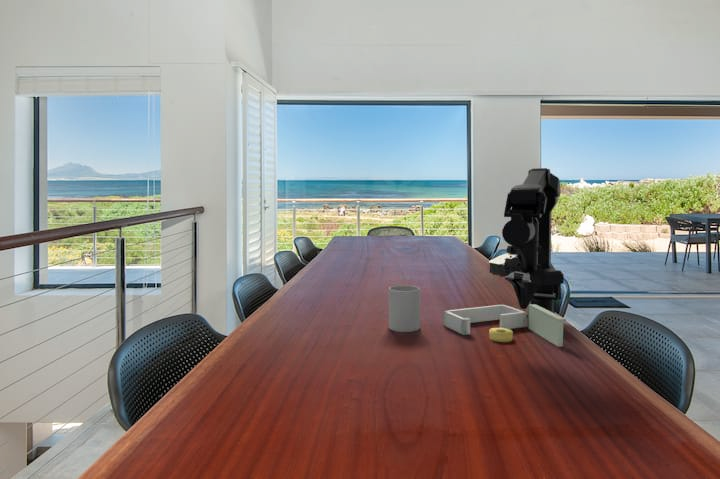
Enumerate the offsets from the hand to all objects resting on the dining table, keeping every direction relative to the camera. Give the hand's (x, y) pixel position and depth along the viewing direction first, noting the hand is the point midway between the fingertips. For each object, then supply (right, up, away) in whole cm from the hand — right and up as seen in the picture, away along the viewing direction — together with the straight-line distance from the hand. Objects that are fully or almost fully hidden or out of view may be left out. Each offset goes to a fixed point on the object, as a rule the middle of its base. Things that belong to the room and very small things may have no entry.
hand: (523, 308), depth 107 cm
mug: (-25, -8, +20) cm, 33 cm away
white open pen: (-4, -8, +20) cm, 21 cm away
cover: (+9, -9, +9) cm, 15 cm away
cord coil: (-3, -9, +8) cm, 12 cm away
